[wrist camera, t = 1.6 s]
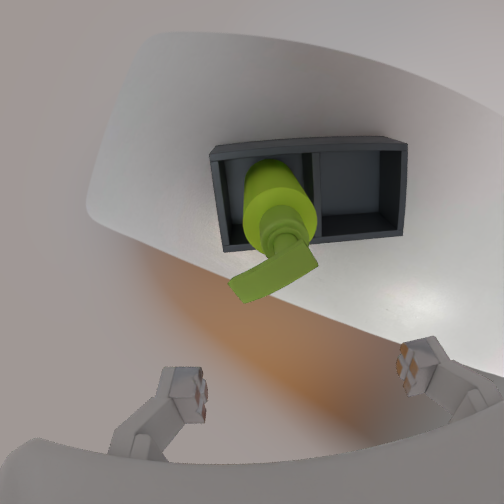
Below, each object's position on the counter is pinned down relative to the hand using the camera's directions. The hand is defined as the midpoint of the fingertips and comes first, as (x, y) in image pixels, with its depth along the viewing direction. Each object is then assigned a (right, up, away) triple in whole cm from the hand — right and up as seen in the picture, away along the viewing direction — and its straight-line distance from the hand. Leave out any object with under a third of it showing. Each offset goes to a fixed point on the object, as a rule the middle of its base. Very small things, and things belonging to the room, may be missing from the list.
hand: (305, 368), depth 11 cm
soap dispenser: (0, +12, +25) cm, 28 cm away
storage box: (+4, +13, +25) cm, 29 cm away
